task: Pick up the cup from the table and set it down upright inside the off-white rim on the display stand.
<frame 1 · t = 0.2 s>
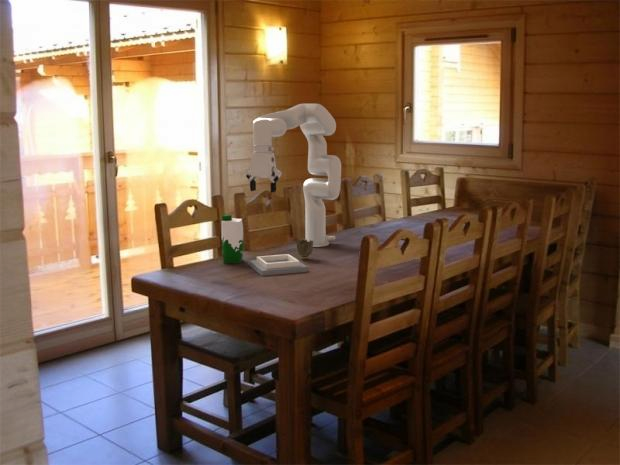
hand: (263, 191, 298), 31 cm above the table, tool pointing down, fingers open, 9 cm apart
milk carton: (233, 261, 308), on the table
cup: (304, 259, 312), on the table
display stand: (277, 268, 295), on the table
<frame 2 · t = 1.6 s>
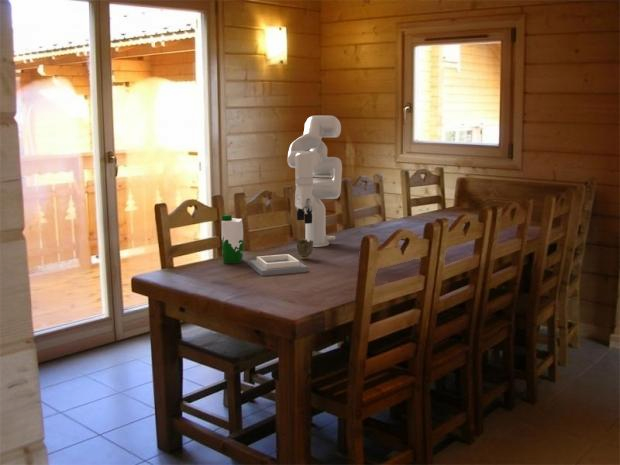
hand: (304, 221, 308), 17 cm above the table, tool pointing down, fingers open, 9 cm apart
nothing on the table moved.
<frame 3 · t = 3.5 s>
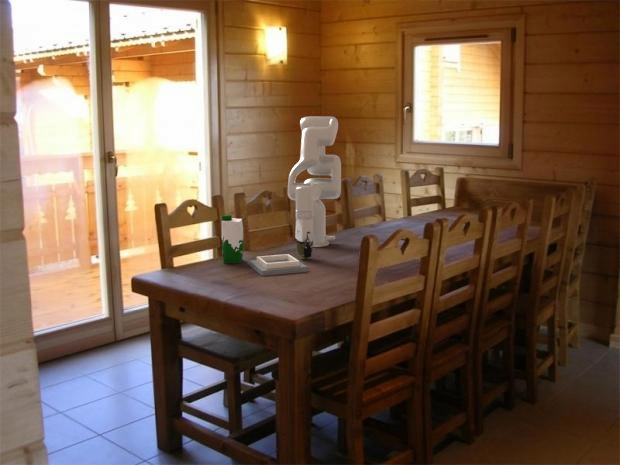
hand: (304, 255, 311), 2 cm above the table, tool pointing down, fingers closed on cup, 6 cm apart
cup: (304, 259, 312), on the table, touching gripper
everything else where it was.
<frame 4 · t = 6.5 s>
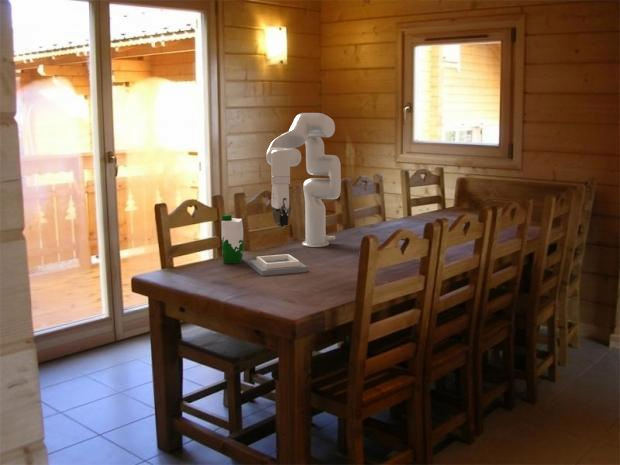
hand: (281, 223, 294), 18 cm above the table, tool pointing down, fingers closed on cup, 6 cm apart
cup: (281, 228, 294), point 16 cm above the table, touching gripper
everything else where it was.
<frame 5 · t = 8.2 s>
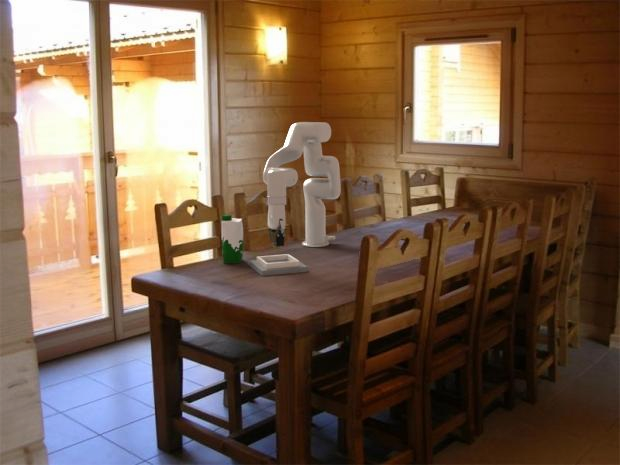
hand: (277, 243, 293), 10 cm above the table, tool pointing down, fingers closed on cup, 6 cm apart
cup: (277, 248, 293), point 8 cm above the table, touching gripper
everything else where it was.
when the fingers open (5 cm above the table, at t = 9.7 s): cup drops 1 cm, resting on display stand.
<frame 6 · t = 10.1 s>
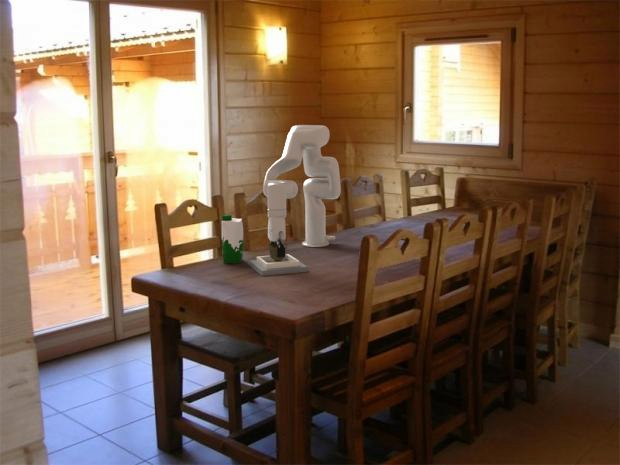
hand: (277, 254, 294), 6 cm above the table, tool pointing down, fingers open, 9 cm apart
cup: (277, 263, 295), point 2 cm above the table, touching display stand
everything else where it was.
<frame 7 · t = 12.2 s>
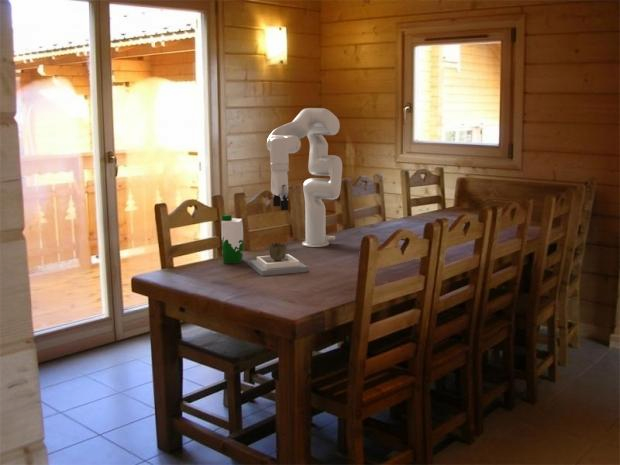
hand: (280, 208, 301), 23 cm above the table, tool pointing down, fingers open, 9 cm apart
nothing on the table moved.
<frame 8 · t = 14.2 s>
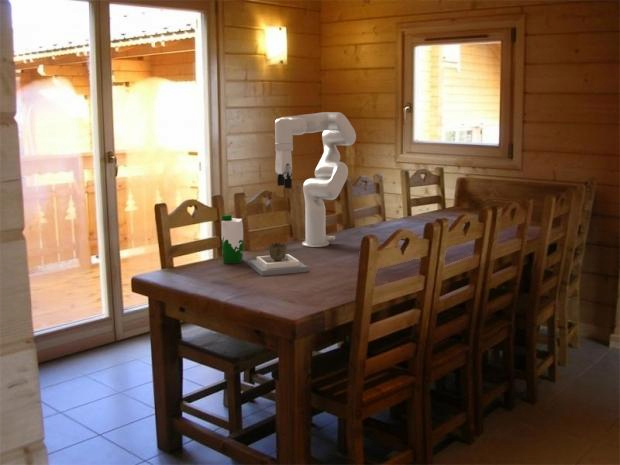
hand: (284, 186, 315), 30 cm above the table, tool pointing down, fingers open, 9 cm apart
nothing on the table moved.
at the end: cup inside the target area on the display stand (0.4 cm from its centre), point 1.8 cm above the display stand's base; cup tilted 0°; the gripper is holding nothing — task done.
